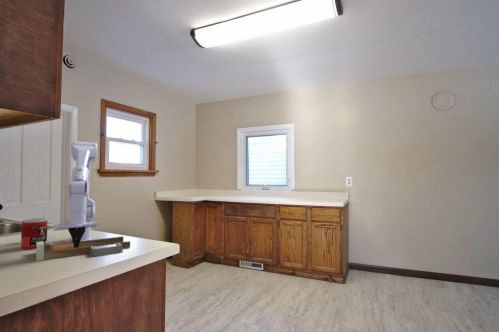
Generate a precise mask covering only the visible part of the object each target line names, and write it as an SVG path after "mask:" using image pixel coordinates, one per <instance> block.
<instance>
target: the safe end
mask: <svg viewBox="0 0 499 332" xmlns="http://www.w3.org/2000/svg"><path fill="white" fill-rule="evenodd" d="M35 261H36V262H38V261H45V260H44V242H43V241H42V242H37V247H36V249H35Z"/></svg>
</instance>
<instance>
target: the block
mask: <svg viewBox="0 0 499 332" xmlns="http://www.w3.org/2000/svg"><path fill="white" fill-rule="evenodd" d="M71 248H74V244H73V243H72V242H71V241H66V242H58V243H51V251H55V250H63V249H71Z"/></svg>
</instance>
